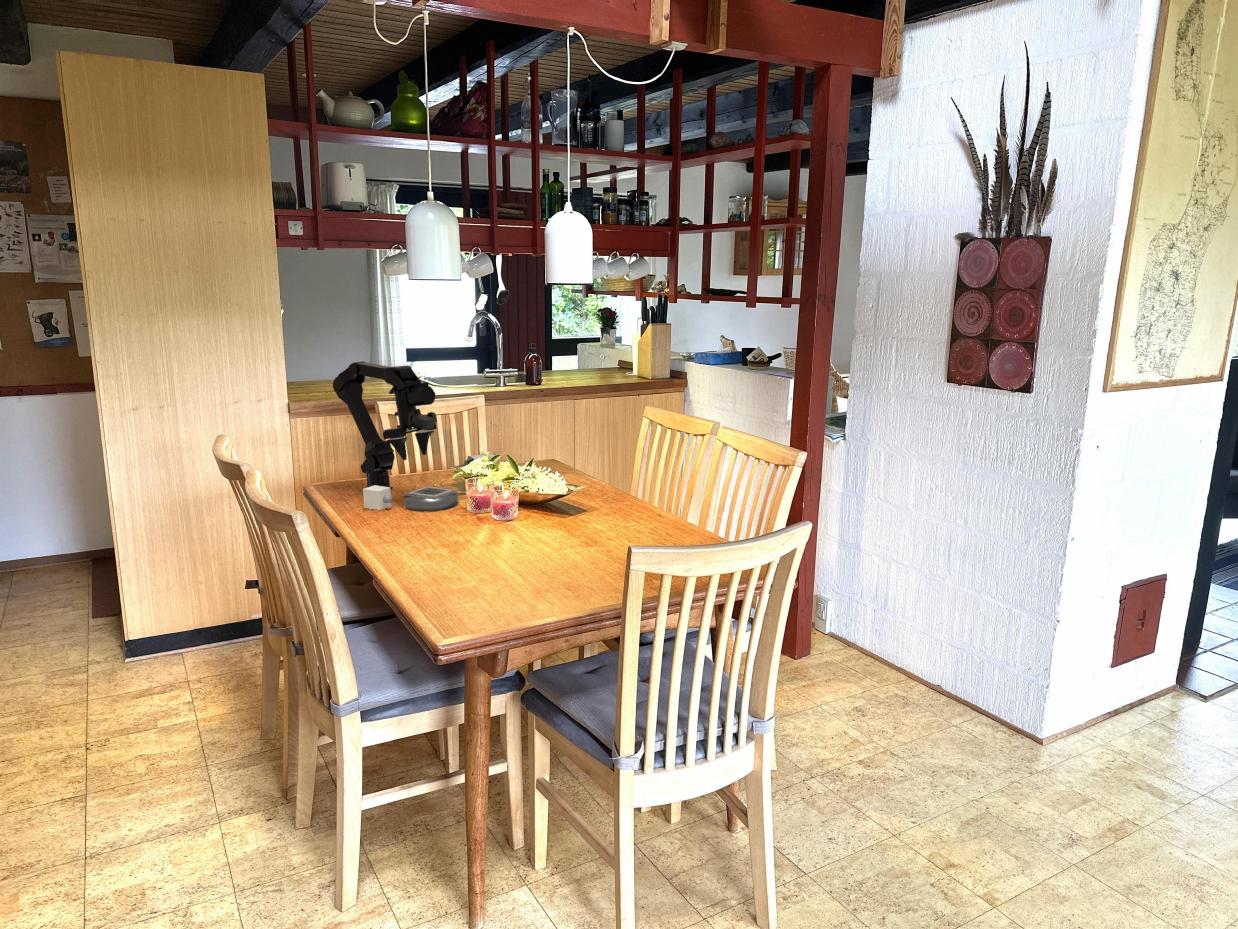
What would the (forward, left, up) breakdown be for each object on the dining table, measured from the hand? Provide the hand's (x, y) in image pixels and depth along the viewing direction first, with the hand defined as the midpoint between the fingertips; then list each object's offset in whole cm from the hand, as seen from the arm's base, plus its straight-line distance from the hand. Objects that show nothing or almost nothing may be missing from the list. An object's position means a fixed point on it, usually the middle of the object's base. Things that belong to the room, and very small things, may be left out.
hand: (414, 457), depth 261 cm
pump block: (-3, -14, -13) cm, 19 cm away
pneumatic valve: (+13, +18, -13) cm, 26 cm away
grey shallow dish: (+9, -4, -13) cm, 16 cm away
